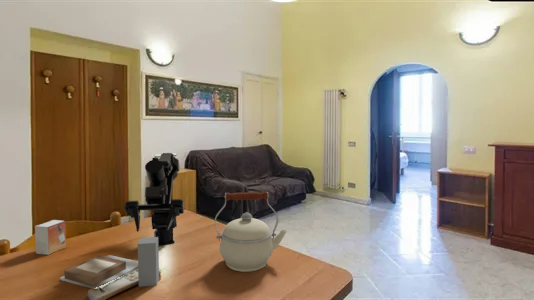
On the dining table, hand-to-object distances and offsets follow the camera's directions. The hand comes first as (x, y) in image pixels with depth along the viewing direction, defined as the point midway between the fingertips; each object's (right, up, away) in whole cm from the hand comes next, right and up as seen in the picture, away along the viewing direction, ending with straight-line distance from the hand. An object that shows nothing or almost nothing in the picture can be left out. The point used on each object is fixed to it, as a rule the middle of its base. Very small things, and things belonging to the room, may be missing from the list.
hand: (152, 230), depth 103 cm
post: (+1, -14, -7) cm, 16 cm away
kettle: (+32, -13, +8) cm, 35 cm away
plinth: (-15, -13, -1) cm, 20 cm away
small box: (-44, -12, +16) cm, 48 cm away
